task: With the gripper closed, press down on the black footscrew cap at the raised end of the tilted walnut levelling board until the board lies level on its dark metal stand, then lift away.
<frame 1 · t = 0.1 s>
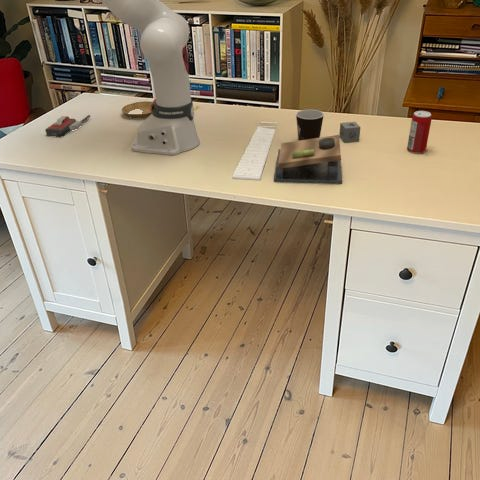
soda can: (416, 151, 153), on the table
levelling board: (309, 148, 140), point 7 cm above the table, hinge at 10.0°, touching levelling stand
coffee mug: (308, 142, 161), on the table
plant saucer: (142, 114, 190), on the table
dice cube: (348, 140, 162), on the table
toy chainsaw: (69, 129, 181), on the table
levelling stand: (308, 170, 144), on the table
keyboard: (258, 149, 159), on the table
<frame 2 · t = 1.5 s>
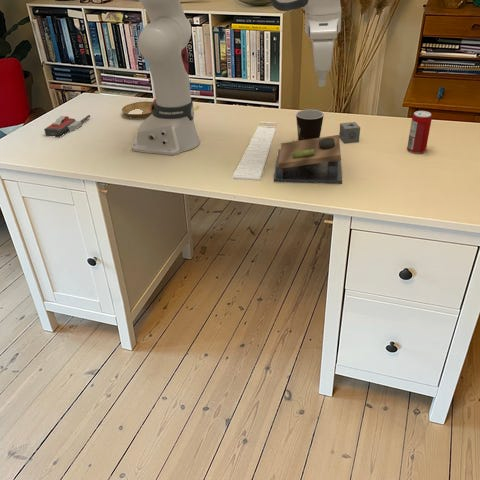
hand: (321, 80, 131), 26 cm above the table, tool pointing down, fingers open, 8 cm apart
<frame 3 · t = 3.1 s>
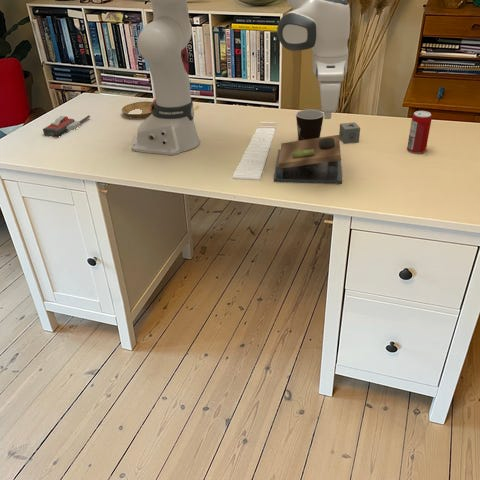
hand: (327, 117, 134), 16 cm above the table, tool pointing down, fingers closed
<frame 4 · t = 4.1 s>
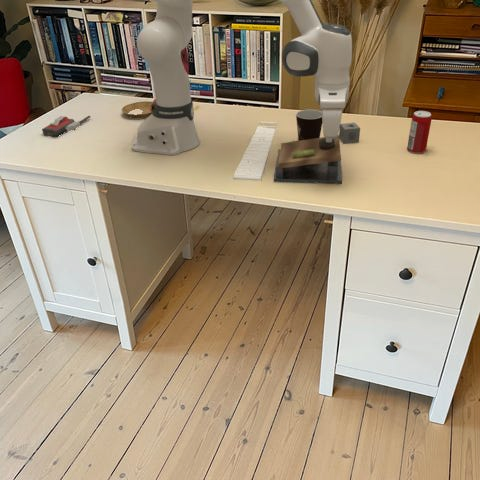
hand: (328, 140, 138), 10 cm above the table, tool pointing down, fingers closed, pressing on levelling board
levelling board: (309, 148, 140), point 7 cm above the table, hinge at 9.7°, touching gripper, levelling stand
everything else where it was.
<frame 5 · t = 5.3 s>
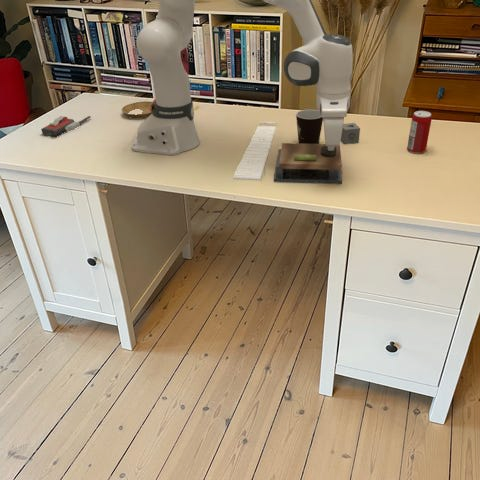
hand: (330, 148, 139), 7 cm above the table, tool pointing down, fingers closed, pressing on levelling board
levelling board: (310, 153, 141), point 6 cm above the table, hinge at 0.0°, touching gripper
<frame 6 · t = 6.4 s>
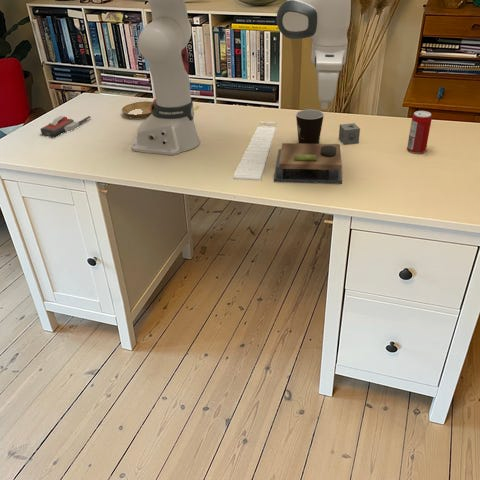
hand: (324, 107, 134), 19 cm above the table, tool pointing down, fingers closed
levelling board: (310, 153, 141), point 6 cm above the table, hinge at 0.0°, touching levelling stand
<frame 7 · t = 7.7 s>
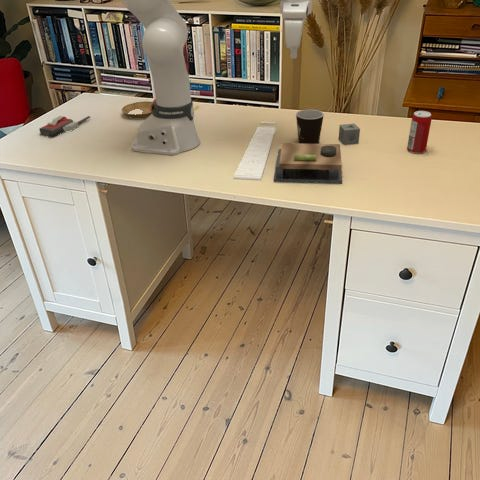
hand: (293, 57, 146), 27 cm above the table, tool pointing down, fingers closed
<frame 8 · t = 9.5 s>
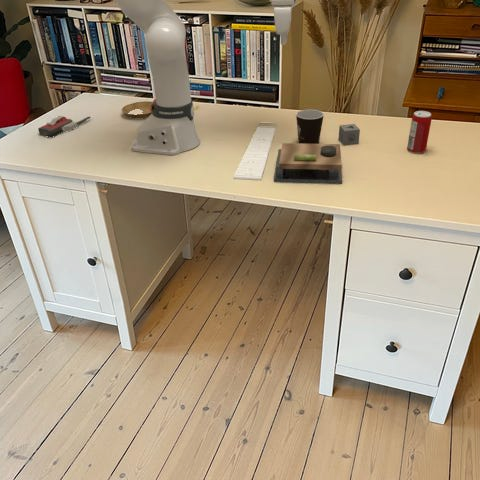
hand: (283, 43, 152), 29 cm above the table, tool pointing down, fingers closed
at the end: levelling board at +0° (first picture: +10°); coffee mug moved 0.2 cm from its start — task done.
